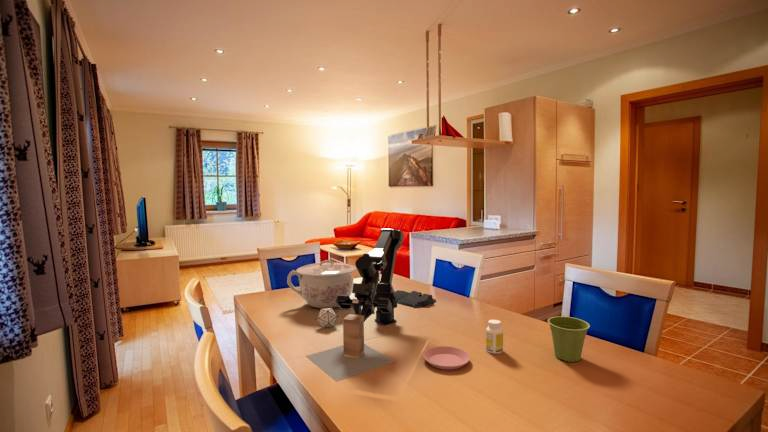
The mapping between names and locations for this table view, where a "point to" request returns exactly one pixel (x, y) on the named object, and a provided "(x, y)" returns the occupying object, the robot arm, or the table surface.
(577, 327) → the plant pot
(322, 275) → the chamber pot
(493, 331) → the supplement bottle
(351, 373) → the rubber mat
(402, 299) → the dark slate chunk
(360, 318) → the walnut block
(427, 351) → the plate
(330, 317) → the game die
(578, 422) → the table surface
